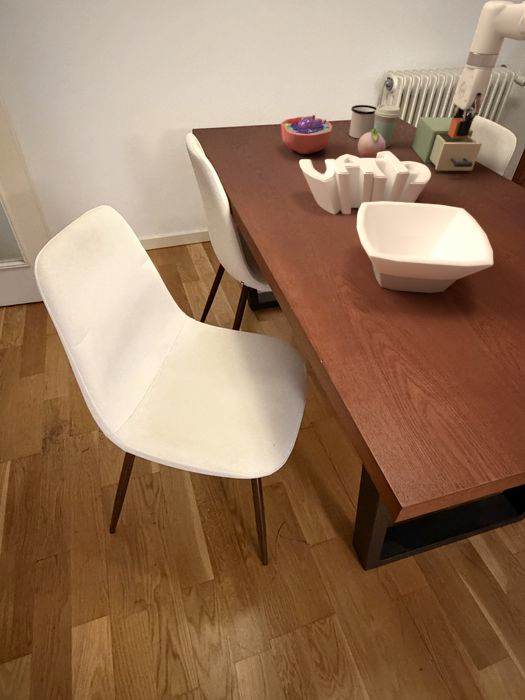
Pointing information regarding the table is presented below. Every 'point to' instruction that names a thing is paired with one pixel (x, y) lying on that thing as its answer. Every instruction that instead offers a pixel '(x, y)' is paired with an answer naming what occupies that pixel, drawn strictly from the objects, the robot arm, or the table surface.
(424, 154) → the cabinet
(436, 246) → the bowl
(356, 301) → the table surface
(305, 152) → the cell model
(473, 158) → the drawer
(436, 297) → the table surface
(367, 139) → the decorative fruit
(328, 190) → the white wavy slab sculpture
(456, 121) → the block
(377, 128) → the coffee cup
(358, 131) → the mug
